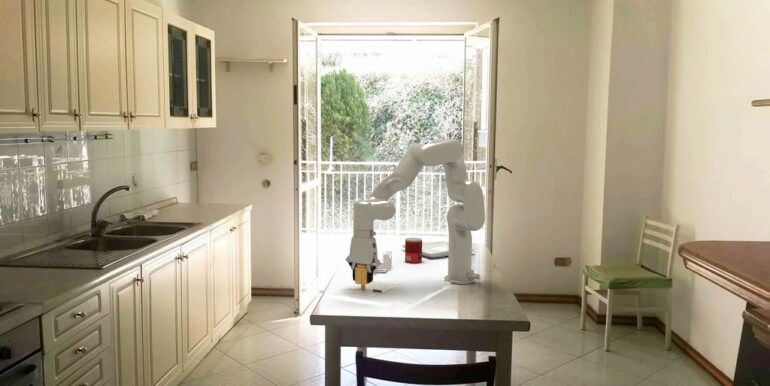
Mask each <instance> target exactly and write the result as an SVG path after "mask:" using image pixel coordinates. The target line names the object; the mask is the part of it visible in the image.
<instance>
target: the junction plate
mask: <svg viewBox="0 0 770 386" xmlns="http://www.w3.org/2000/svg"><path fill="white" fill-rule="evenodd" d="M398 286H399V284H398V283H393V282H392V283H390V282H383V281H377V280H373V281H372V282H371V283H370V284H365V285H362V284H361V285H359V286H357V287H354V288H352V289H349V290H346V291H345V293H351V294H356V295H362V296H369V297H375V296H377V295H379V294H382V293H384V292H386V291H389V290H391V289H393V288H395V287H398Z"/></svg>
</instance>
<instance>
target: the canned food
mask: <svg viewBox="0 0 770 386" xmlns="http://www.w3.org/2000/svg"><path fill="white" fill-rule="evenodd" d="M422 242H423V239H422V238H421V237H420V238H419V237H407V238H405V241H404V245H405V248H404V261H405V263H407V264H413V265H417V264H421V263H422V261H423V255H422Z"/></svg>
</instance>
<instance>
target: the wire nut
mask: <svg viewBox="0 0 770 386" xmlns="http://www.w3.org/2000/svg"><path fill="white" fill-rule="evenodd" d="M367 272H368V269H367V265H365V264H357V266H356V267H355V281H354V283H355V284H356V285H359V286H361V284H362V285H365V284H370V283H371V282H370V283H367Z"/></svg>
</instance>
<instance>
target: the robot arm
mask: <svg viewBox="0 0 770 386" xmlns="http://www.w3.org/2000/svg"><path fill="white" fill-rule="evenodd" d="M464 151H465V148H464V145H463V143H462V142H461V141H460V140H457V139H455V138H454V139H453V138H435V139H433V140H431V141H430V143H415V144H412V145H411V146H409V148H408V149H407V151H406V152H405V154H404V155H403V156H402V158H401V160H400V161H399V163H398V164H397V166H396V167H395V169H394V170H393V171H392V173H391V174H390V175H388V176H387V177H386V178H384V179H383V180H382V181H381V182H380V183H379V184H378V185H377V186H376V187H375V188H374V190H373V191H372V192H371V194H370V195H369V197H368V198H367V200H356V201H354V203H353V225H352V228H353V235H352V236H351V240H350V244H349V245H350V246H349V254H348V255H347V257H346V258H345V261H346V263H347V264H348V265H349V268H350V270H351V271H352V281H354V282H355V267H356V266H357V264H365V265H367V269H368V272H367V283H370V282H372V281H374V272H375V271H376V270H375V269H376V268H377V267H378V266H380V265H381V263H380V261H379V260H378V259H379V258H378V245H377V238H376V237H375V236H377V235H376V234H377V232H376V231H375V229H374V221H375V220H376V221H388V220H391V219H393V217H394V216H395V215H396V211H397V210H396V206H395V204H394V203H392V202H391V201H390V198H391V197H393V196H394V195H395V194H396V193H398V192H400V191H403V190H405V189H407V188H409V187H410V186H411V185H412V184H413V183H414V181H416V180H415V179H416V178H418V177H417V176H418V175H419V174H420V172H421V170H423V167H436V166H442V167H443V169H444V172H445V180H446V190H447V195H448V198H449V199H450V200H451V201H453V202H456V203H460V204H453V205H452V206H450V208H449V209H448V210H447V214H446V221H447V226H448V242H449V252H448V257H447V260H448V261H447V265H448V266H447V275H445V276H444V279H443V280H444V282H448V283H449V282H450V283H451V284H455V285H467V284H473V283H475V281H476V280H479V281H480V280H481V275H480V273H475V271H474V269H472V265H473V264H472V260H473V258H472V257H473V256H472V255H473V254H472V253H473V251H472V248H473V236H472V235H473V234H472V232H476V231H480V230H481V229H483V227H484V225H485V221H486V210H485V201H484V199H485V198H484V192H483V189H482V186H481V185H480V183H478V182H477V181H476V180H472V179H468V173H467V167H466V163H465V160H464V159H463V154H464ZM373 263H375V265H373Z"/></svg>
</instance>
